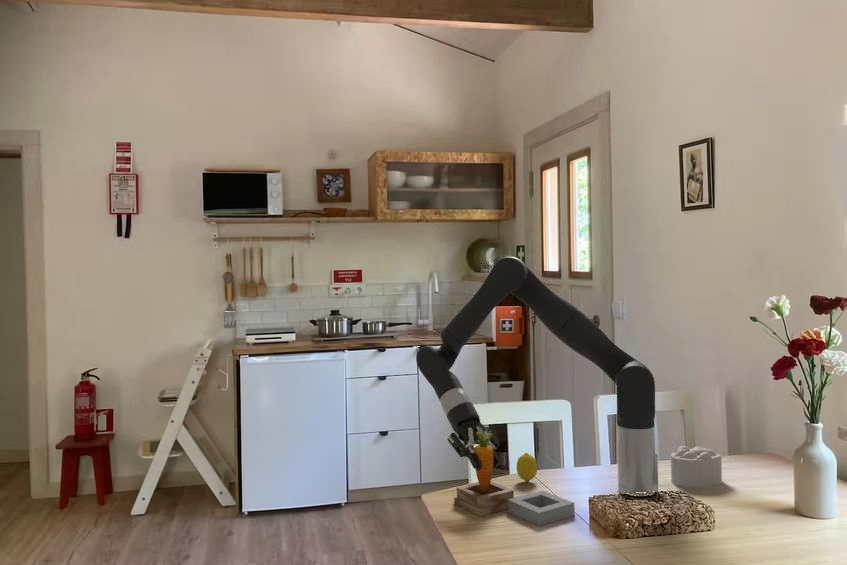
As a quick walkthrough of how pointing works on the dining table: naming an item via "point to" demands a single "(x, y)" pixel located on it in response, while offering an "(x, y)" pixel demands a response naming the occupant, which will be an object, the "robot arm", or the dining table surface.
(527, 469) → the lemon
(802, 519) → the dining table surface
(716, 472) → the lumpy-topped squat cylinder
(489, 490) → the square wooden tray
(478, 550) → the dining table surface
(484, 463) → the carrot
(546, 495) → the socket block
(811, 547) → the dining table surface
